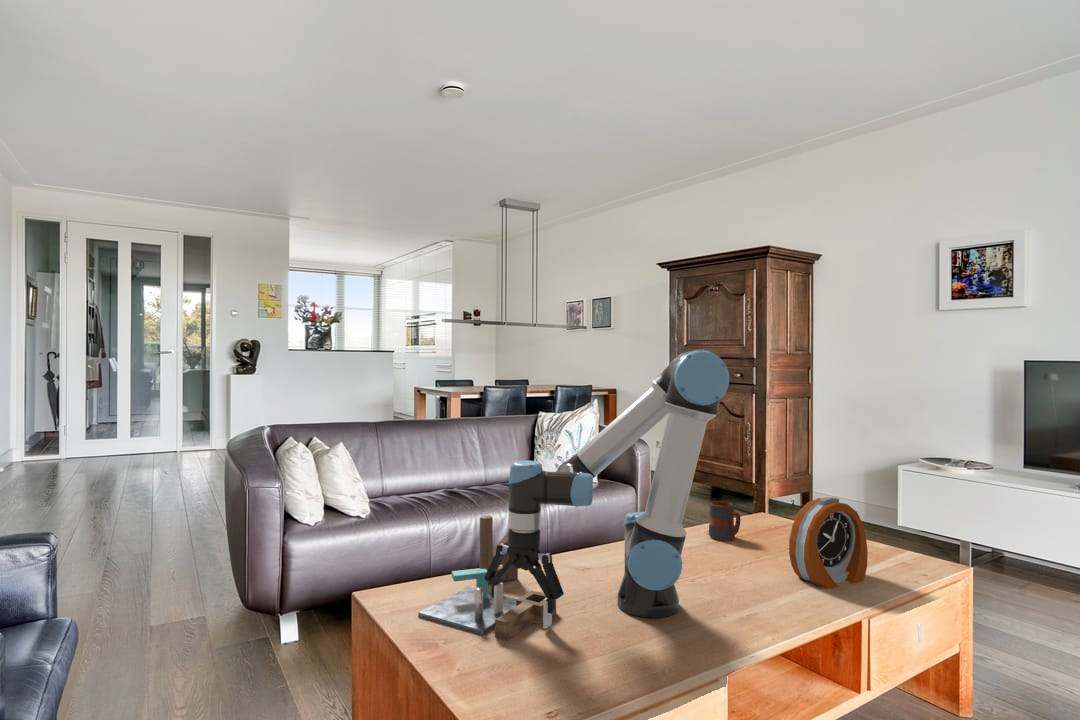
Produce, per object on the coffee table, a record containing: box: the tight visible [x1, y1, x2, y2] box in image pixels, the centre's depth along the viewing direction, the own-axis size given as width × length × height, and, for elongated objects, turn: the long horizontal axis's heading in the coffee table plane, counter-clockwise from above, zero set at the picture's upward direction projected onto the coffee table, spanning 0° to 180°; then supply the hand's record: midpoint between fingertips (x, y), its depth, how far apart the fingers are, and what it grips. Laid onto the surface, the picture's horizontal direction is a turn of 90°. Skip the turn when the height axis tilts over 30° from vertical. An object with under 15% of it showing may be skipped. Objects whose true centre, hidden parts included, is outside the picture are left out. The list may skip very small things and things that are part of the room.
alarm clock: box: [788, 496, 868, 590], centre depth 174 cm, size 22×10×23 cm, turn 114°
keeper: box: [451, 567, 489, 598], centre depth 157 cm, size 4×9×8 cm, turn 109°
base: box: [417, 586, 518, 636], centre depth 152 cm, size 19×19×8 cm
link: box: [494, 590, 557, 642], centre depth 145 cm, size 18×7×4 cm, turn 149°
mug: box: [708, 500, 742, 542], centre depth 212 cm, size 9×12×12 cm
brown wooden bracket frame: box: [478, 514, 519, 585], centre depth 172 cm, size 4×11×18 cm, turn 114°
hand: (522, 619), depth 145 cm, fingers open, 13 cm apart
